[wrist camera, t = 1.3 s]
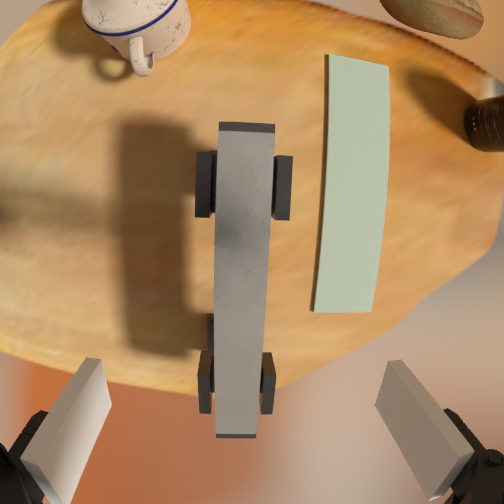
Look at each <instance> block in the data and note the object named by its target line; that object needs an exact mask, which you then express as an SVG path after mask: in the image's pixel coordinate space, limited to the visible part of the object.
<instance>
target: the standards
mask: <svg viewBox="0 0 504 504" xmlns="http://www.w3.org/2000/svg"><path fill="white" fill-rule="evenodd" d="M217 155H218V151H211V152H197V161H196V190H195V217H201V218H210V216H211V214H212V213H215V210H216V180H217ZM292 164H293V156H283V155H277V156H275V157H274V161H273V182H272V202H271V216H272V217H273V218H274V220H288V221H289V218H290V201H291V184H292ZM197 376H198V394H199V410H200V413H205V414H211V407H212V393H213V392H215V377H214V315H211V314H208V351H201V355H200V362H199V368H198V374H197ZM275 384H276V372H275V367H274V363H273V358H272V353H271V352H262V363H261V377H260V390H259V402H260V411H261V414H272V411H273V402H274V393H275Z"/></svg>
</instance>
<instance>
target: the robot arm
mask: <svg viewBox="0 0 504 504" xmlns="http://www.w3.org/2000/svg"><path fill="white" fill-rule="evenodd" d="M111 406H112V403H111V400H110V396H109V392H108V388H107V384H106V379H105V375H104V371H103V366H102V361H101V359H95V358H88V357H86V359H85V360H84V362H83V363H82V364H81V366H80V367H79V369H78V370H77V371H76V373H75V374H74V376H73V377H72V379H71V380H70V382H69V383H68V385H67V386H66V387H65V389H64V390H63V392H62V393H61V395H60V396H59V398H58V399H57V401H56V402H55V404H54V405H53V407H52V408H51V410H50V412H45V411H42V410H41V411H39V412H38V413H36V414H35V415H33V416H32V417H31V419H30V420H29V421H28V423H27V424H26V427H24V429H23V430H22V433H20V435H19V436H18V438H17V439H16V441H15V443H14V444H13V446H12V447H11V449H10V450H9V452H7V450H6V448H5V447H4V446H3V445H2V444H1V443H0V504H43V503H42V500H43V498H44V496H46V498H47V499H48V500H49V502H50V503H52V504H70V502H71V500H72V497H73V495H74V492H75V490H76V487H77V485H78V482H79V480H80V477H81V475H82V472H83V470H84V467H85V465H86V463H87V460H88V458H89V456H90V453H91V451H92V448H93V446H94V443H95V441H96V439H97V437H98V435H99V432H100V430H101V428H102V426H103V423H104V421H105V419H106V417H107V415H108V412H109V410H110V408H111ZM375 406H376V408H377V410H378V411H379V413H380V415H381V417H382V418H383V420H384V422H385V424H386V425H387V427H388V429H389V431H390V432H391V434H392V436H393V438H394V439H395V441H396V443H397V445H398V446H399V448H400V450H401V452H402V453H403V455H404V457H405V459H406V461H407V463H408V465H409V466H410V468H411V470H412V472H413V473H414V475H415V477H416V479H417V481H418V483H419V485H420V486H421V488H422V490H423V492H424V494H425V495H426V498H427V499H428V501H430V500H433V499H435V498H438V497H440V496H443V495H444V494H445V493H446V492H447V490H448V489H449V488H450V487H451V488H452V490H453V493H452V494H451V495H450V497H449V498H448V499H447V500H446V502H445V503H444V504H504V455H503V454H502V453H500V452H499V451H497V450H494V449H488V450H486V449H485V448H484V447H483V445H482V444H481V443H480V442H479V440H478V439H477V438H476V437H475V436H474V434H473V433H472V432H471V430H470V429H468V427H467V426H466V424H465V423H463V421H462V420H461V418H460V417H459V416H458V415H457V414H456V413H454V412H453V411H451V410H450V409H448V408H447V409H444V410H442V408H441V407H440V406H439V405H438V403H437V402H436V401H435V400H434V398H433V397H432V396H431V395H430V394H429V392H428V391H427V390H426V389H425V388H424V386H423V385H422V384H421V383H420V381H419V380H418V379H417V378H416V377H415V375H414V374H413V373H412V372H411V371H410V369H409V368H408V367H407V366H406V365H405V363H404V362H403V361H402V360H394V361H388V363H387V367H386V370H385V374H384V377H383V381H382V384H381V387H380V391H379V394H378V397H377V400H376V403H375Z"/></svg>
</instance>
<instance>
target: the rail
mask: <svg viewBox="0 0 504 504" xmlns="http://www.w3.org/2000/svg"><path fill="white" fill-rule="evenodd" d="M274 139H275V124H264V123H245V122H219V134H218V155H217V180H216V210H215V254H214V377H215V419H216V438H256V429H257V416H258V403H259V390H260V377H261V363H262V349H263V335H264V320H265V305H266V289H267V273H268V256H269V239H270V221H271V202H272V182H273V161H274Z"/></svg>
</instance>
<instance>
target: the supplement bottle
mask: <svg viewBox="0 0 504 504" xmlns="http://www.w3.org/2000/svg"><path fill="white" fill-rule="evenodd" d="M464 120H465V129H466V132H467V135H468V137H469V139H470V141H471V142H472V144H473V145H474V146H475V147H476V148H477V149H479V150H481V151H483V152H504V95H501V96H497V97H492V98H487V99H483V100H479V101H475V102H473V103H471V104H470V105H469V106H468V108H467V110H466V112H465V119H464Z"/></svg>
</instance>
